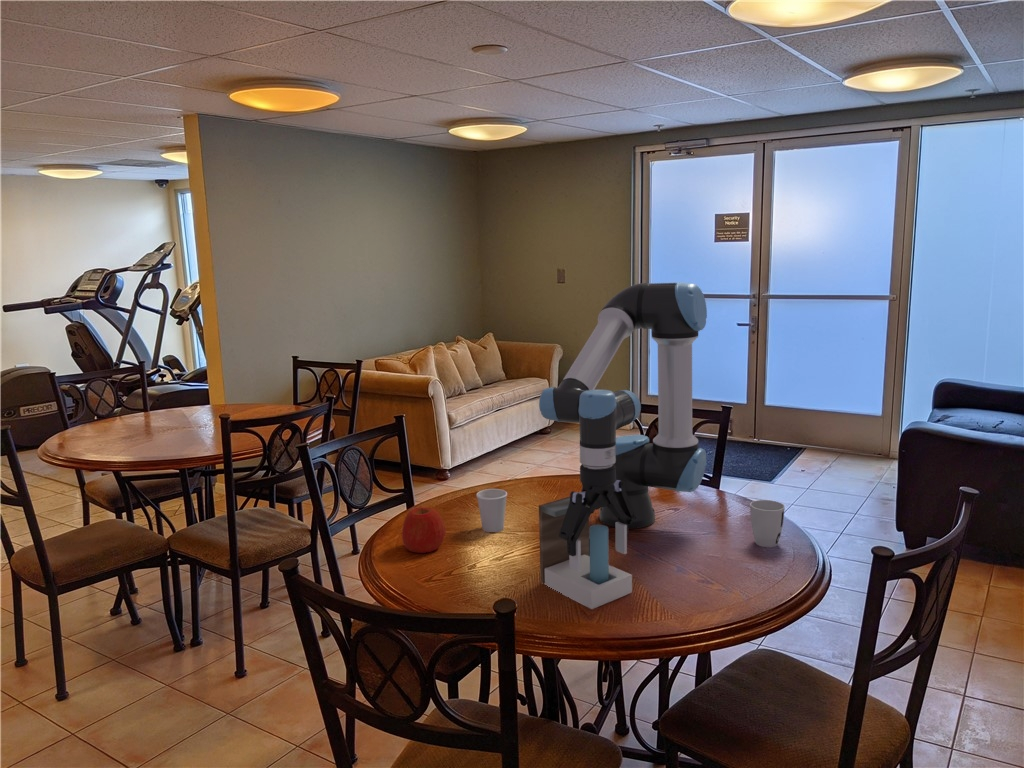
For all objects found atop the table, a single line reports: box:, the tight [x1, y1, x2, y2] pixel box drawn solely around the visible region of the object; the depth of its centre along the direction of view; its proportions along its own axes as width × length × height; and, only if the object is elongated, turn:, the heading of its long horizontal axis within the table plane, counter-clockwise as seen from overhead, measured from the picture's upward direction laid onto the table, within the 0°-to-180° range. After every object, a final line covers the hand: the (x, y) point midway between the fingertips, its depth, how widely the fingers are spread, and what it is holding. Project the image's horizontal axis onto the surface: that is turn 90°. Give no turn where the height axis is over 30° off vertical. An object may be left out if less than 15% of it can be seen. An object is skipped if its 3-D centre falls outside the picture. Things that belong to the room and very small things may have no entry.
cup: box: [749, 499, 786, 548], centre depth 183 cm, size 8×8×10 cm
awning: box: [538, 496, 590, 585], centre depth 166 cm, size 6×14×18 cm, turn 128°
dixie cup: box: [475, 488, 508, 533], centre depth 199 cm, size 8×8×10 cm
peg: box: [589, 524, 610, 585], centre depth 158 cm, size 4×4×15 cm
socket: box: [544, 554, 633, 610], centre depth 161 cm, size 15×12×4 cm
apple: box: [401, 506, 446, 554], centre depth 187 cm, size 11×11×11 cm
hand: (598, 560), depth 158 cm, fingers open, 13 cm apart
